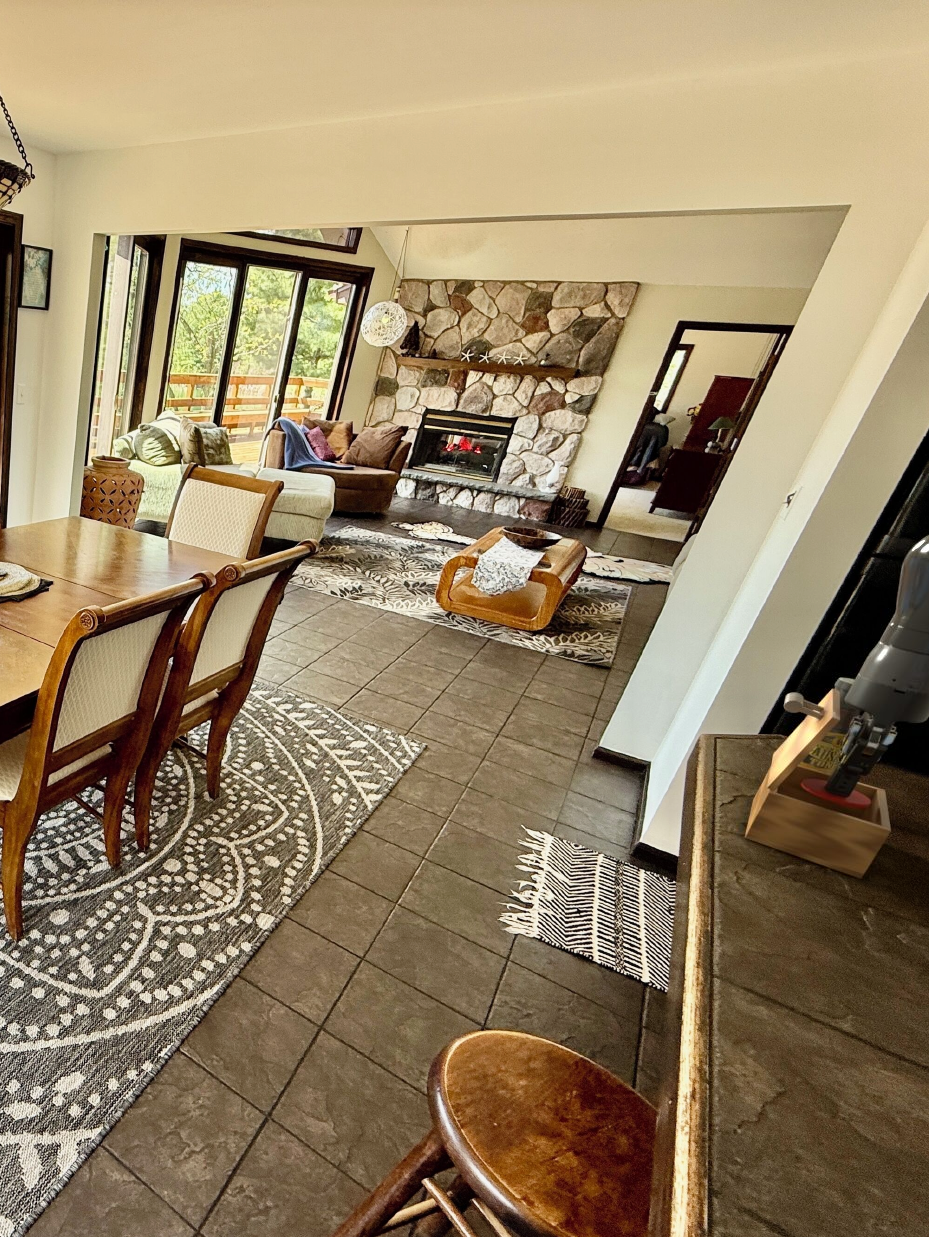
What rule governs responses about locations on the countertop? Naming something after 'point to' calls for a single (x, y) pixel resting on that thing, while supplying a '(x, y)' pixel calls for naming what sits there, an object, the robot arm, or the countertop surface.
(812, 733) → the chest lid
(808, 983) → the countertop surface
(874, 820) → the chest
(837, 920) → the countertop surface
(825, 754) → the sauce bottle
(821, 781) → the pan lid
